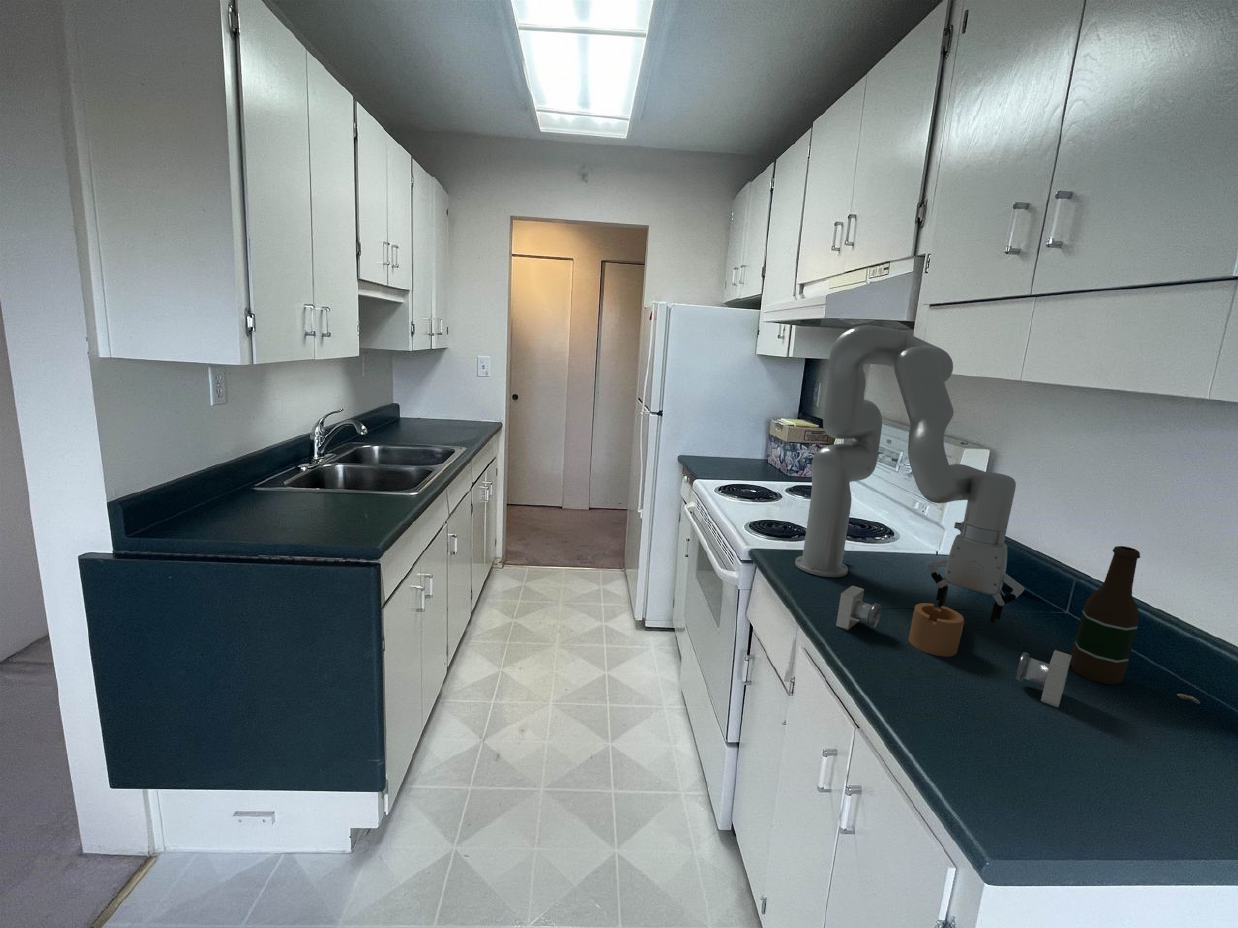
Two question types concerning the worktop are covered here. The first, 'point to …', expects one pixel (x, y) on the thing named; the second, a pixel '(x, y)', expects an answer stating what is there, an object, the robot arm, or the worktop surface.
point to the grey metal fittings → (1028, 668)
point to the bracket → (936, 629)
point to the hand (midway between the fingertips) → (966, 612)
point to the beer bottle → (1108, 623)
